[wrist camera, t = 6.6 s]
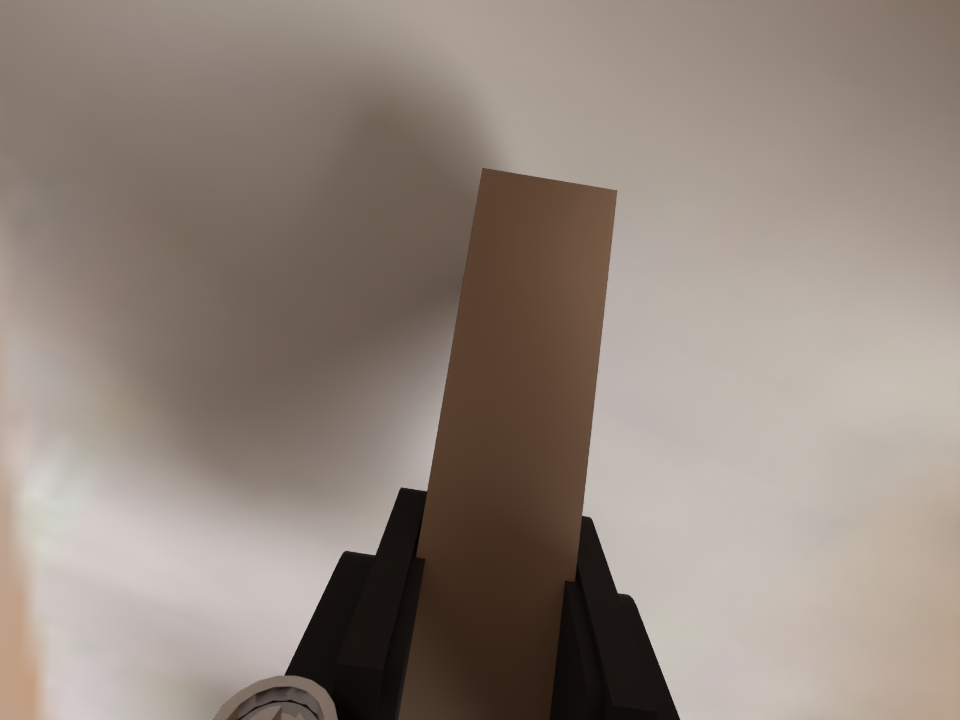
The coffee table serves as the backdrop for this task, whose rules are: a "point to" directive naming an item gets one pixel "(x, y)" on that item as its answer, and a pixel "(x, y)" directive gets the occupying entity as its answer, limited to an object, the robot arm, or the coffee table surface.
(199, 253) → the coffee table surface
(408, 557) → the robot arm
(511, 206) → the post on base stand
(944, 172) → the coffee table surface
